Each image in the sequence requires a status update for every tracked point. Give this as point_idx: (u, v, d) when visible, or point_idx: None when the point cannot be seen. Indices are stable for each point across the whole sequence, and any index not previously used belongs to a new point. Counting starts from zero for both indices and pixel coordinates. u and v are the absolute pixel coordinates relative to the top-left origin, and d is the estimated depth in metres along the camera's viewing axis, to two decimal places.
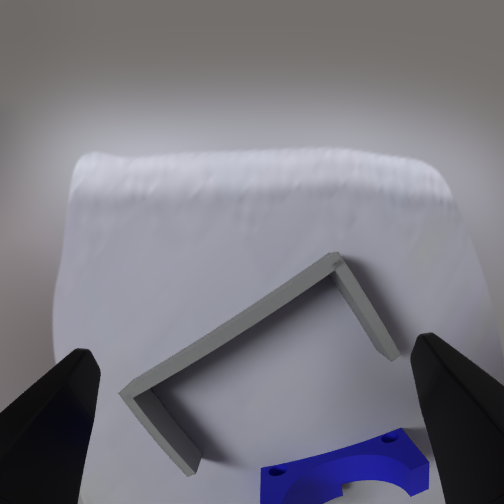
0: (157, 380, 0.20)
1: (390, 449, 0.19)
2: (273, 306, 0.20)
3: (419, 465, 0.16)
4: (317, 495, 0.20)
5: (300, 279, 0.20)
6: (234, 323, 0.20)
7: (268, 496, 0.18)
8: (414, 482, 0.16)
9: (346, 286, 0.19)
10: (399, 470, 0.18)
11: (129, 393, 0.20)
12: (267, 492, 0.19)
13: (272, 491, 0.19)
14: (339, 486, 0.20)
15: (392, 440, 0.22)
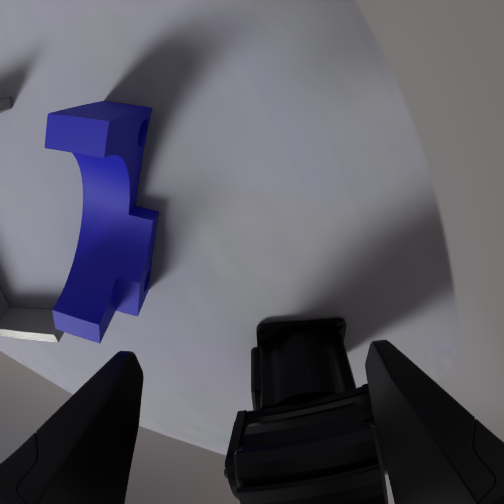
0: None
1: None
2: None
3: (47, 129, 0.11)
4: (124, 250, 0.18)
5: None
6: None
7: None
8: (73, 144, 0.11)
9: None
10: None
11: None
12: None
13: None
14: (131, 217, 0.18)
15: None
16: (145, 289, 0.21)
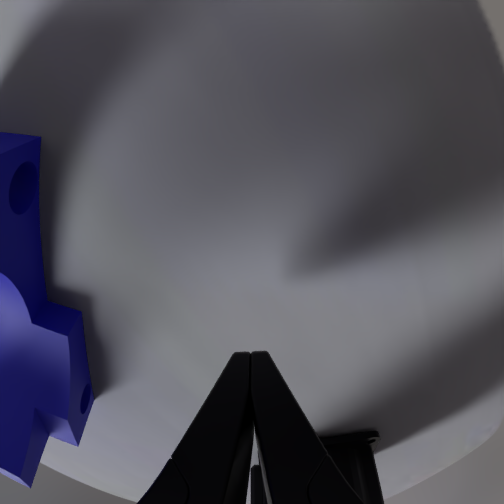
0: None
1: None
2: None
3: None
4: (39, 371, 0.09)
5: None
6: None
7: None
8: None
9: None
10: None
11: None
12: None
13: None
14: (36, 328, 0.09)
15: None
16: (87, 405, 0.12)
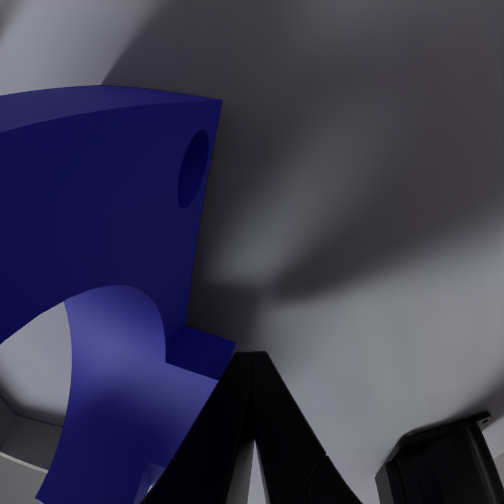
0: None
1: None
2: None
3: None
4: (161, 419, 0.08)
5: None
6: None
7: None
8: None
9: None
10: None
11: None
12: None
13: None
14: (172, 369, 0.08)
15: None
16: None
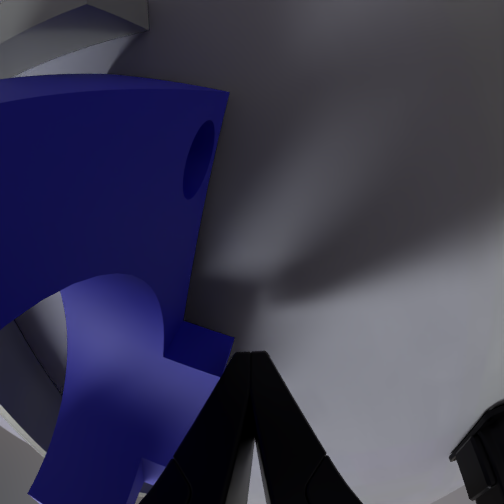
0: None
1: None
2: None
3: None
4: (157, 415, 0.08)
5: None
6: None
7: None
8: None
9: None
10: None
11: None
12: None
13: None
14: (170, 363, 0.07)
15: None
16: None
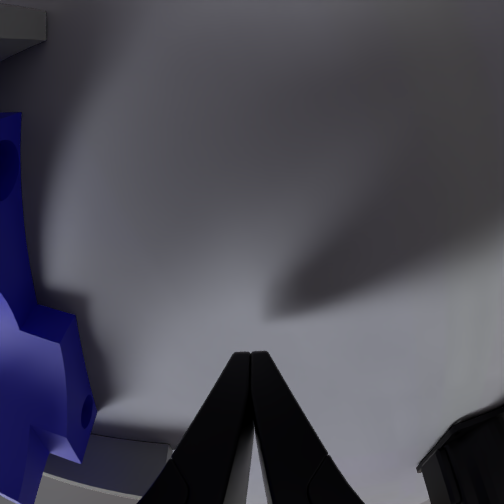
0: None
1: None
2: None
3: None
4: (31, 384, 0.08)
5: None
6: None
7: None
8: None
9: None
10: None
11: None
12: None
13: None
14: (25, 335, 0.08)
15: None
16: (89, 418, 0.11)
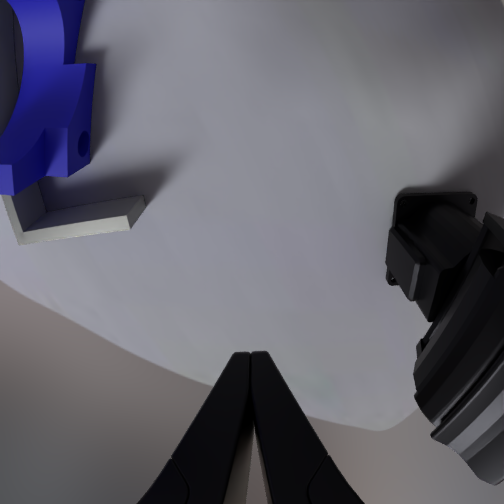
0: None
1: None
2: None
3: None
4: (56, 101, 0.13)
5: None
6: None
7: None
8: None
9: None
10: None
11: (18, 232, 0.16)
12: None
13: None
14: (65, 67, 0.13)
15: None
16: (83, 156, 0.16)
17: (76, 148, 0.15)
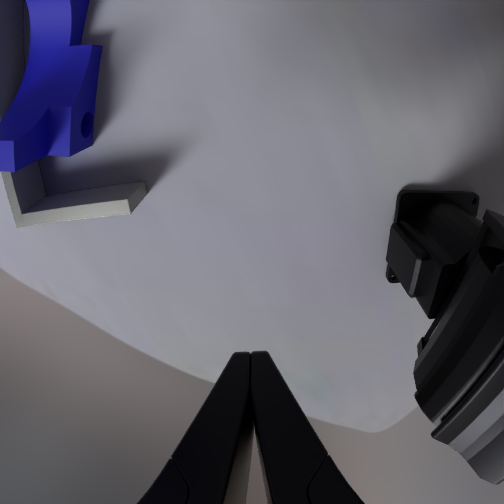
0: (9, 174, 0.14)
1: None
2: None
3: None
4: (61, 81, 0.13)
5: None
6: None
7: None
8: None
9: None
10: None
11: (17, 214, 0.15)
12: None
13: None
14: (71, 48, 0.13)
15: None
16: (86, 137, 0.16)
17: (79, 128, 0.14)
